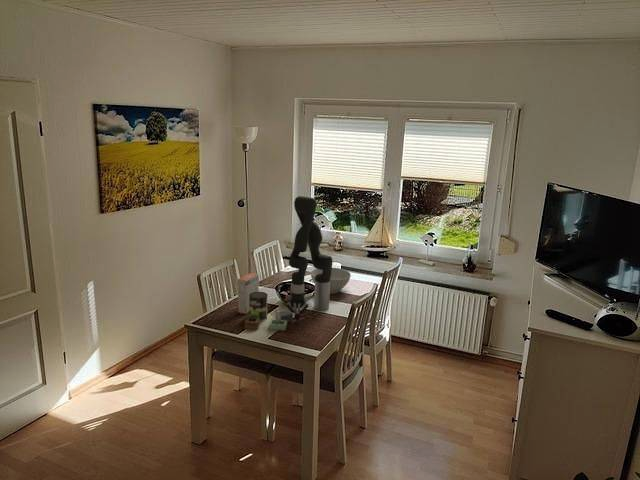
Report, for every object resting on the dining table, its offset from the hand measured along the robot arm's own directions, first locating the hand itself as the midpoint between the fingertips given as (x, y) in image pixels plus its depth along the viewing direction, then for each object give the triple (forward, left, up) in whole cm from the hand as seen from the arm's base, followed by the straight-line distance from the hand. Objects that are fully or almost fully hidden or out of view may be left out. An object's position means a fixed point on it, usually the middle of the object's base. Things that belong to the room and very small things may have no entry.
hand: (297, 319), depth 262 cm
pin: (+9, -9, 0) cm, 13 cm away
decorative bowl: (-53, +17, -1) cm, 55 cm away
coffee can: (-2, -22, -1) cm, 22 cm away
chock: (0, -7, -1) cm, 7 cm away
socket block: (+10, -23, -1) cm, 26 cm away
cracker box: (-13, -30, -1) cm, 33 cm away
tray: (+9, -9, -1) cm, 13 cm away
